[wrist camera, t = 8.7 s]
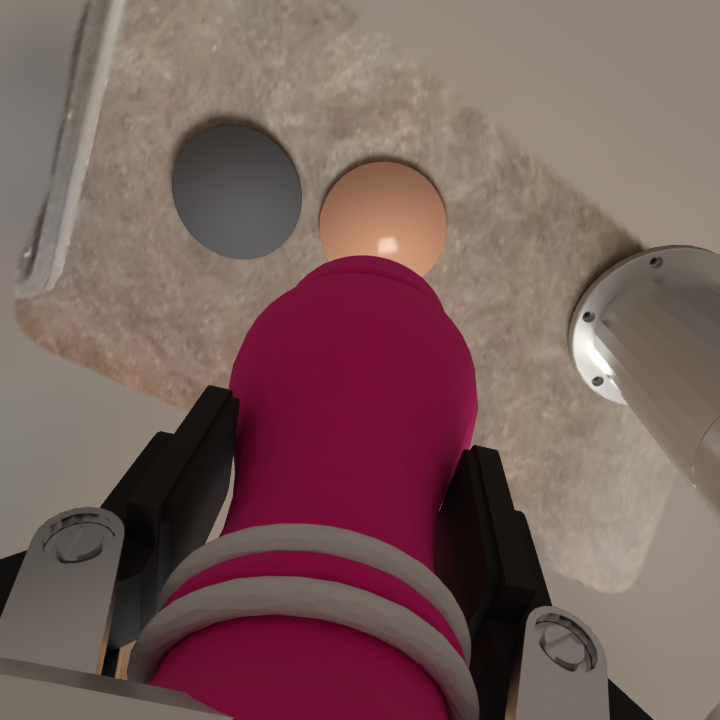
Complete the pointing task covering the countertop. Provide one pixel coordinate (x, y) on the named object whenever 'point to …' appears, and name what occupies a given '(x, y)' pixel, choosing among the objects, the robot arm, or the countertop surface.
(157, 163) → the countertop surface
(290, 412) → the pepper mill
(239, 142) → the dark gray oval dome
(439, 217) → the peach oval dome
